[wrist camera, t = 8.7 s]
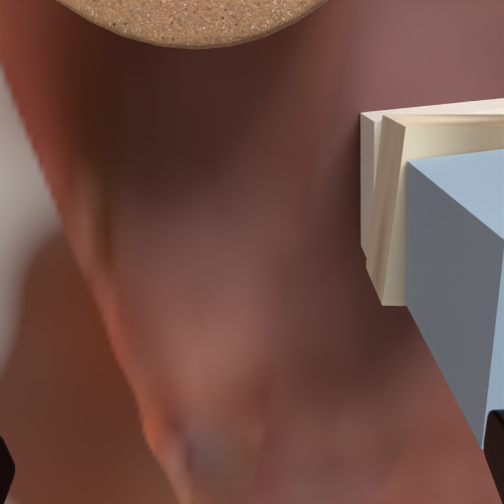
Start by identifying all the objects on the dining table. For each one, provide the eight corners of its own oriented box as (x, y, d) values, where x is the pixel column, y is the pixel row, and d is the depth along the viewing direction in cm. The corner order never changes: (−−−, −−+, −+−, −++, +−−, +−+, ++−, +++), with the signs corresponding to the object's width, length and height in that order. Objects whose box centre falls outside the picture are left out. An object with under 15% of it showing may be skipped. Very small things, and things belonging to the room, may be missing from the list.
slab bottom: (509, 96, 18) (552, 104, 15) (491, 233, 20) (526, 261, 17) (359, 112, 18) (374, 121, 15) (360, 243, 21) (372, 272, 18)
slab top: (558, 114, 15) (621, 126, 12) (516, 269, 17) (561, 308, 15) (382, 114, 15) (405, 127, 13) (365, 267, 18) (382, 305, 15)
